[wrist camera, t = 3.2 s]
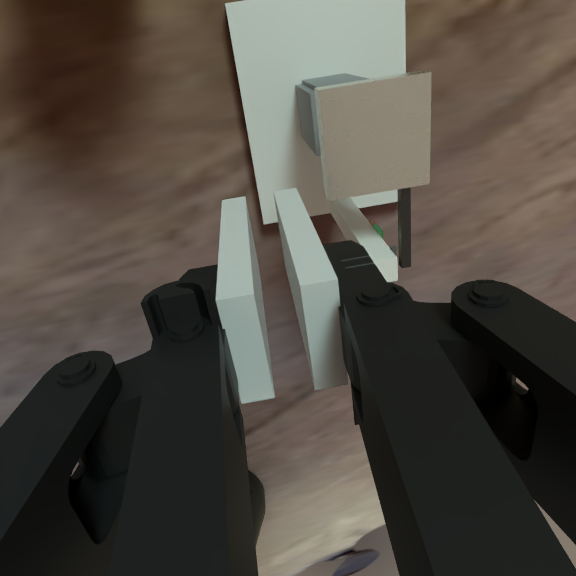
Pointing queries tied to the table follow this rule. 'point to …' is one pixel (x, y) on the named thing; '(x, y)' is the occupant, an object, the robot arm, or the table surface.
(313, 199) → the stand
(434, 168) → the table surface
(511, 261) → the table surface
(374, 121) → the square paddle
